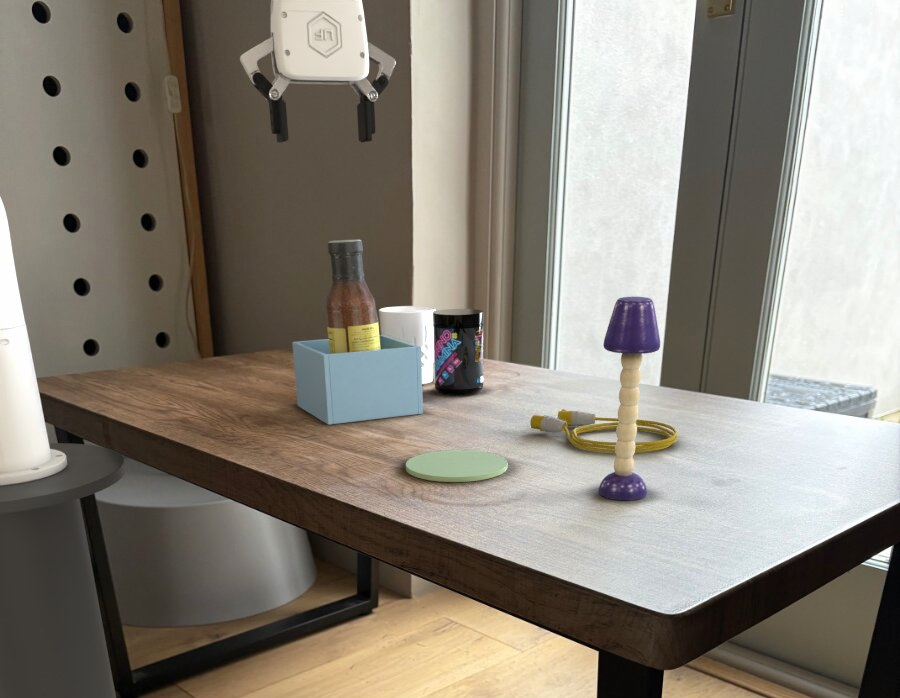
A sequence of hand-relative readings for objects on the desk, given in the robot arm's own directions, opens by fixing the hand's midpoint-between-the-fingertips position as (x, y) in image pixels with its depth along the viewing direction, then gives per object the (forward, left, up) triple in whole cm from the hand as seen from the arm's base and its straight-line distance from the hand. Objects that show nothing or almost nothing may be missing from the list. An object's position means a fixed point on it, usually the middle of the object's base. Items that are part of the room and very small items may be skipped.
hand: (324, 141), depth 106 cm
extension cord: (+20, -29, -31) cm, 47 cm away
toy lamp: (+9, -47, -31) cm, 57 cm away
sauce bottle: (+1, -2, -31) cm, 31 cm away
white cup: (+14, +12, -31) cm, 36 cm away
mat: (0, -32, -30) cm, 44 cm away
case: (+1, -2, -30) cm, 30 cm away
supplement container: (+17, +2, -31) cm, 35 cm away
